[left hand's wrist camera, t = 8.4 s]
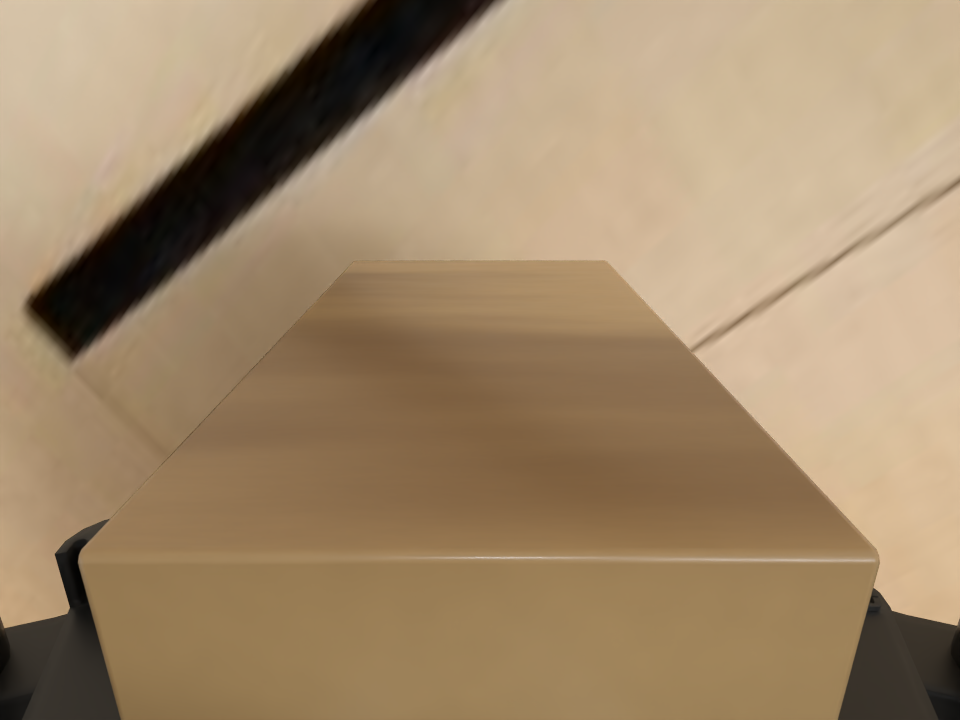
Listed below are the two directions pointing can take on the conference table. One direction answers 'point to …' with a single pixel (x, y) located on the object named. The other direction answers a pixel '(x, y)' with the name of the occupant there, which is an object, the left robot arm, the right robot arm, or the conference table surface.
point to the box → (479, 524)
